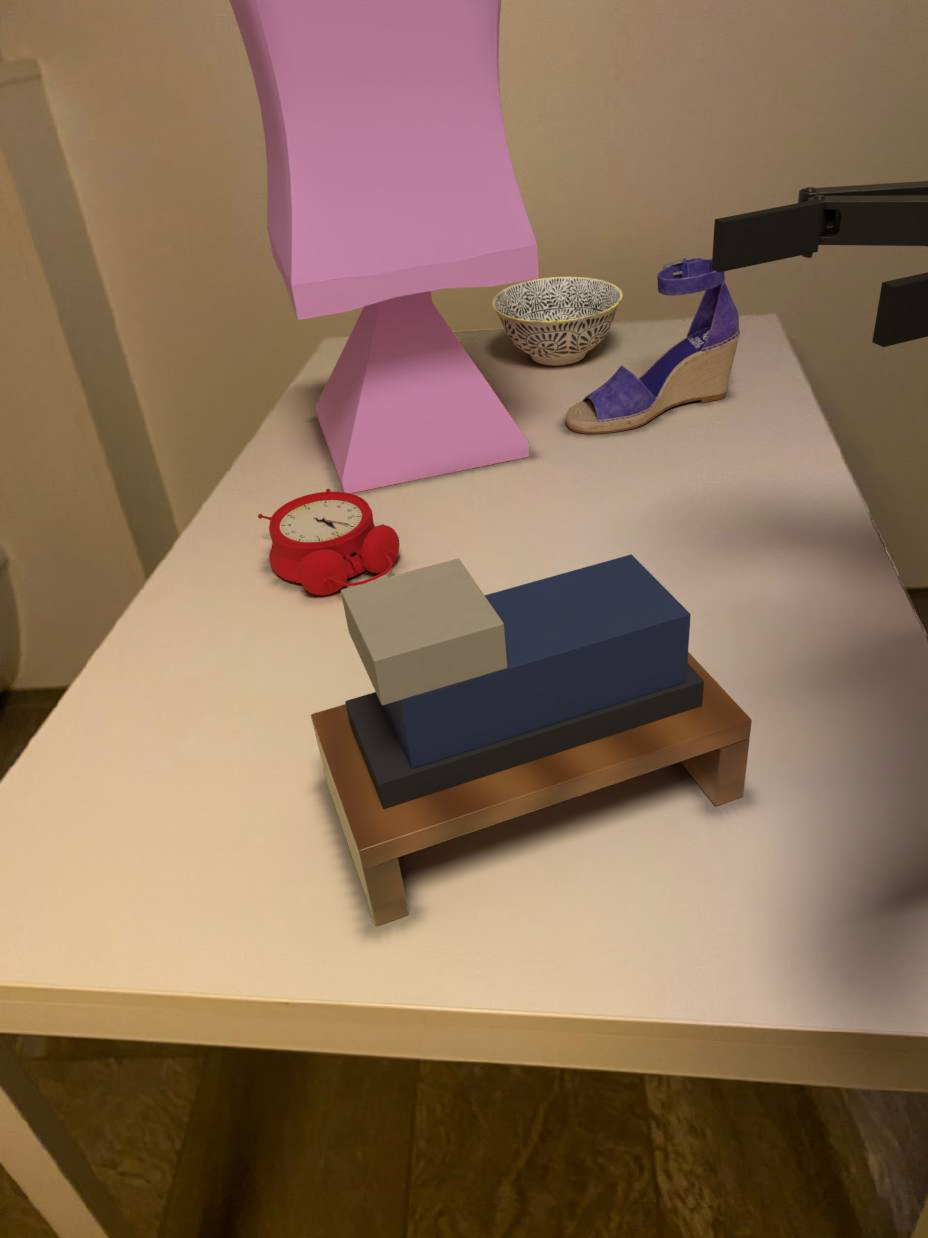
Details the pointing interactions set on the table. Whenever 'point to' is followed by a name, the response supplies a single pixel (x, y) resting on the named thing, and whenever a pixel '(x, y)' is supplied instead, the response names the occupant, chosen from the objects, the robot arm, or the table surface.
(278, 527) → the alarm clock
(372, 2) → the pink table lamp
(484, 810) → the low wooden table
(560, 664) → the stacked block toy
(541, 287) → the bowl
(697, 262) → the sandal
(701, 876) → the table surface
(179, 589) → the table surface
